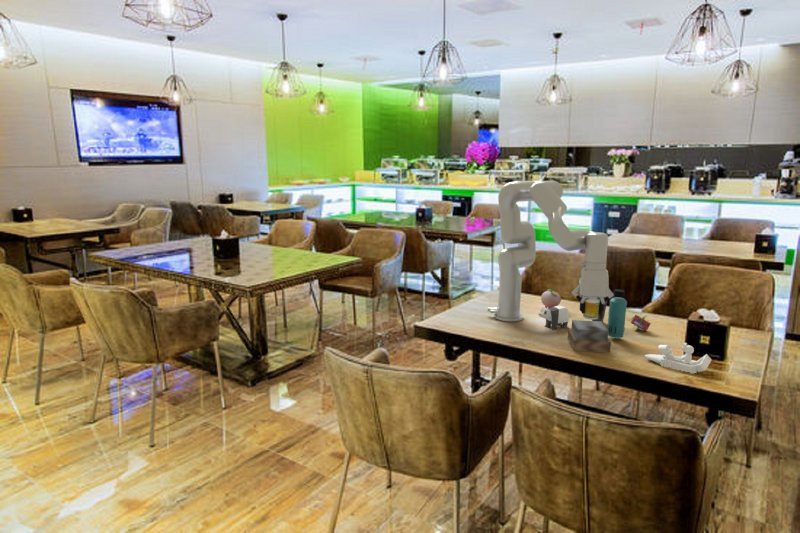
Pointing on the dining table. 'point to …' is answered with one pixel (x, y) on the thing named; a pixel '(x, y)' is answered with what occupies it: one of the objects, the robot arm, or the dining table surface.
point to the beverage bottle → (617, 315)
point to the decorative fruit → (550, 298)
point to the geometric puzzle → (640, 323)
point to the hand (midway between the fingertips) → (590, 312)
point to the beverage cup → (601, 316)
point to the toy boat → (680, 359)
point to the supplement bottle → (591, 308)
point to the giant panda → (555, 316)
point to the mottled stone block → (589, 336)
